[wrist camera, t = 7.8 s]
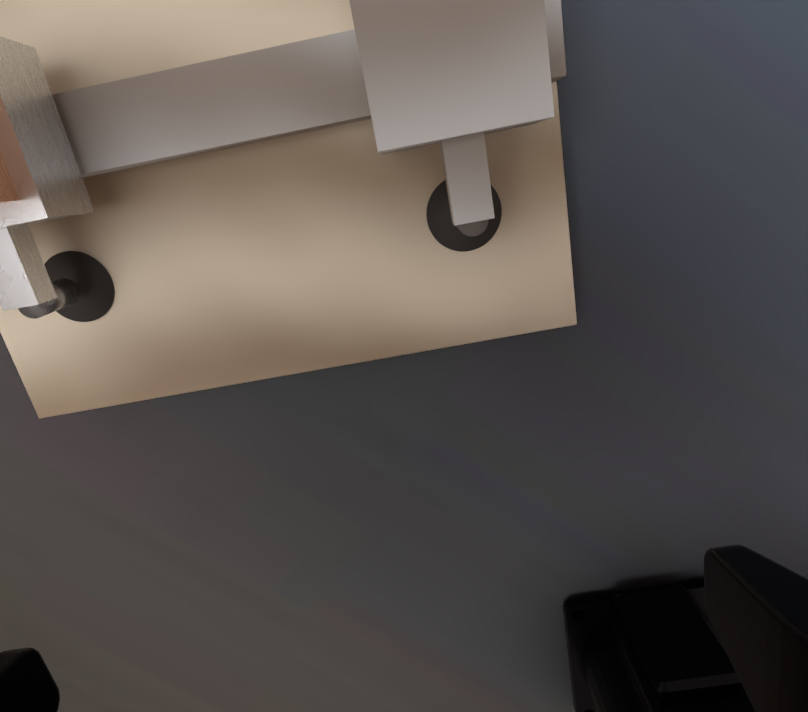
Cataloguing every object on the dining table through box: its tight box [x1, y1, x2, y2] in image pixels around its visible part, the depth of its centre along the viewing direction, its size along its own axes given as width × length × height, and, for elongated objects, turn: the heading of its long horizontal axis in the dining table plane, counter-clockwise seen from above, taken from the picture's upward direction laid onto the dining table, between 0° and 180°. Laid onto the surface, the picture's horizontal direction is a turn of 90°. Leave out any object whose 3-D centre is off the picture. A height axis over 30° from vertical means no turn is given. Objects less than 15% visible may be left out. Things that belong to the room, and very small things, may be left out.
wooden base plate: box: [0, 0, 577, 418], centre depth 15 cm, size 12×18×4 cm, turn 100°
